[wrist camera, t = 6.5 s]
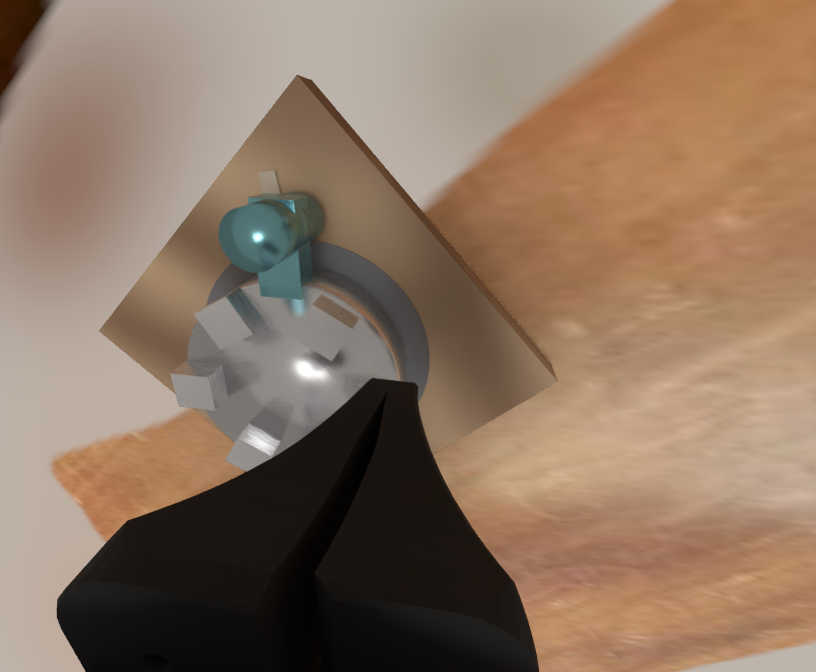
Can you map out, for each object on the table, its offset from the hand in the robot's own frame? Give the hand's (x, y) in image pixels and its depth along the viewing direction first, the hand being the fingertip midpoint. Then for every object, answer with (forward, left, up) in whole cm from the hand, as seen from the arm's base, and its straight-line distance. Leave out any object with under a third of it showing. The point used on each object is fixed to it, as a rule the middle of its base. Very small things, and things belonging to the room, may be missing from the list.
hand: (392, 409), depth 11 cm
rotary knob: (-4, +3, -6) cm, 8 cm away
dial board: (-5, +2, -8) cm, 10 cm away
